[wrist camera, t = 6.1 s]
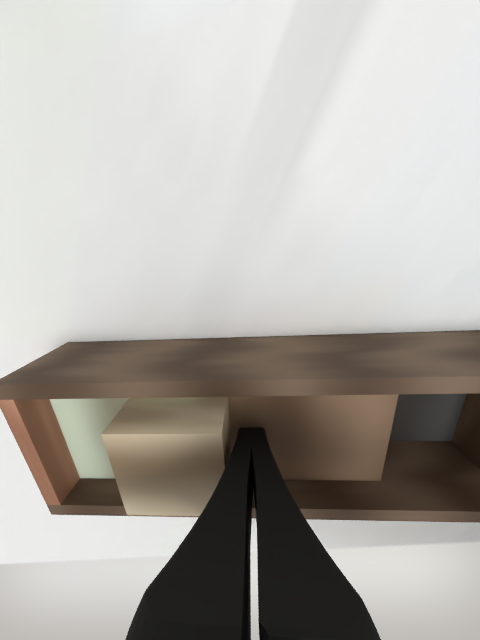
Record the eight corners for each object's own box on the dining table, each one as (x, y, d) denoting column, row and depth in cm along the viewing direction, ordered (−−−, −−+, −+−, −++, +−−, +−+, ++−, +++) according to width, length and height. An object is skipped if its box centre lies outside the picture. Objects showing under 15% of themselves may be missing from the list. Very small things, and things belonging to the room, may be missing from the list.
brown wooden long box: (632, 325, 12) (835, 369, 8) (567, 446, 15) (692, 526, 11) (67, 342, 14) (-11, 385, 10) (101, 446, 17) (51, 514, 13)
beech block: (233, 466, 13) (229, 516, 11) (149, 466, 13) (127, 515, 11) (227, 394, 11) (221, 433, 9) (131, 395, 12) (101, 434, 9)
